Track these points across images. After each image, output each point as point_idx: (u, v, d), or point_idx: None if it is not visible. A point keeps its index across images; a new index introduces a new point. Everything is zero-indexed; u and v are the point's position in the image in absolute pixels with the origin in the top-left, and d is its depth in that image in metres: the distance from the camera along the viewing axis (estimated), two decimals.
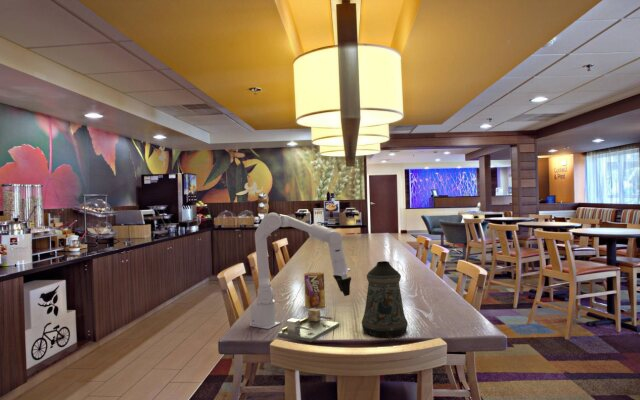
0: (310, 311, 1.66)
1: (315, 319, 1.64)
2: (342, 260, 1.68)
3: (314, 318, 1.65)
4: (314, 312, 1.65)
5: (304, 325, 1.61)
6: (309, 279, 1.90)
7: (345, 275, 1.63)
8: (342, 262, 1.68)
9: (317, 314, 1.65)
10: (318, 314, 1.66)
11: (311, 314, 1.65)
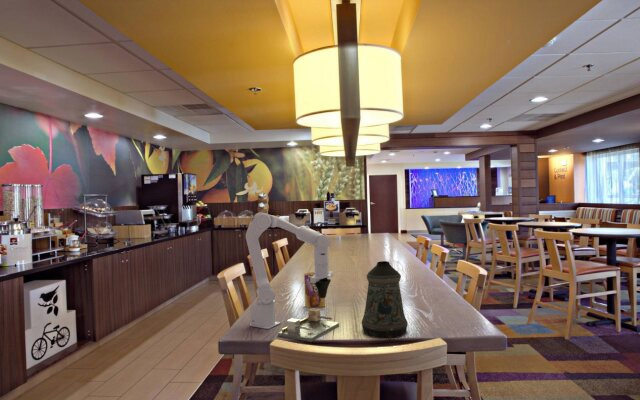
0: (310, 311, 1.66)
1: (315, 319, 1.64)
2: (320, 265, 1.69)
3: (314, 318, 1.65)
4: (314, 312, 1.65)
5: (304, 325, 1.61)
6: (309, 279, 1.90)
7: (313, 279, 1.65)
8: (320, 267, 1.69)
9: (317, 314, 1.65)
10: (318, 314, 1.66)
11: (311, 314, 1.65)
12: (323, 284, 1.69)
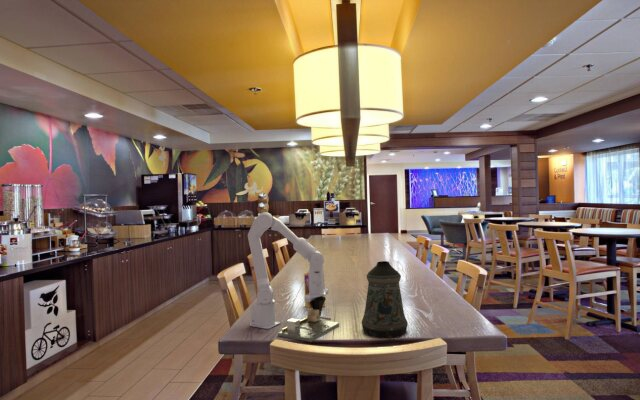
0: (309, 311, 1.65)
1: (314, 319, 1.64)
2: (315, 283, 1.65)
3: (313, 318, 1.64)
4: (313, 312, 1.64)
5: (304, 325, 1.61)
6: None
7: (307, 298, 1.62)
8: (315, 285, 1.65)
9: (316, 314, 1.64)
10: (317, 314, 1.65)
11: (310, 314, 1.65)
12: (318, 303, 1.65)
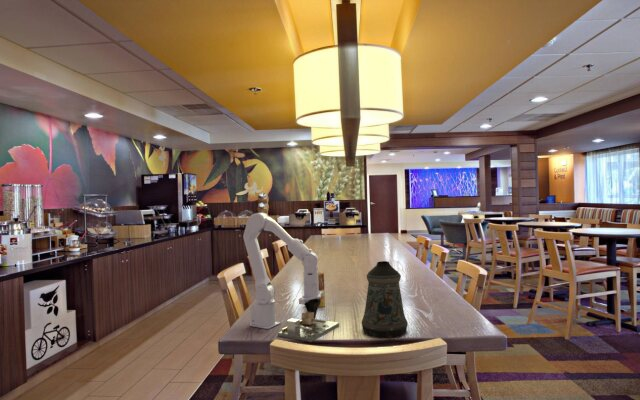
0: (303, 314, 1.62)
1: (309, 322, 1.61)
2: (310, 285, 1.62)
3: (307, 321, 1.61)
4: (307, 315, 1.61)
5: (304, 325, 1.61)
6: None
7: (301, 301, 1.59)
8: (309, 287, 1.62)
9: (311, 317, 1.61)
10: (312, 317, 1.62)
11: (304, 317, 1.61)
12: (312, 305, 1.62)
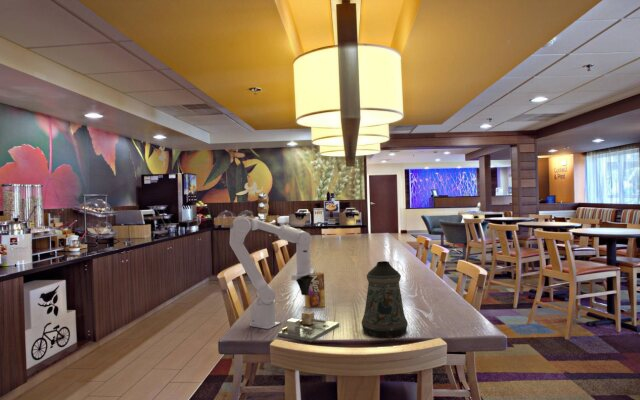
0: (303, 314, 1.62)
1: (309, 322, 1.61)
2: (302, 262, 1.68)
3: (307, 321, 1.61)
4: (307, 315, 1.61)
5: (304, 325, 1.61)
6: None
7: (294, 276, 1.65)
8: (302, 264, 1.68)
9: (311, 317, 1.61)
10: (312, 317, 1.62)
11: (304, 317, 1.61)
12: (305, 281, 1.68)
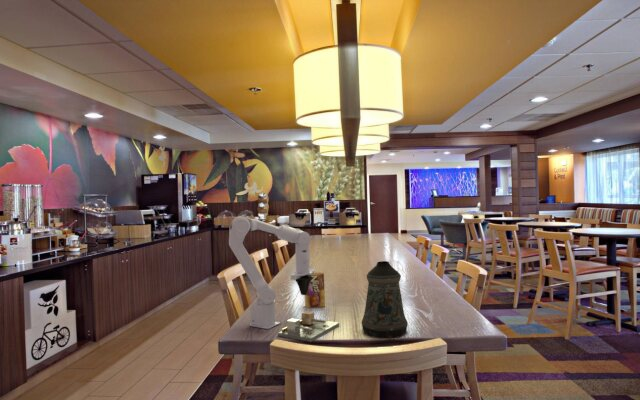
0: (303, 314, 1.62)
1: (309, 322, 1.61)
2: (301, 262, 1.68)
3: (307, 321, 1.61)
4: (307, 315, 1.61)
5: (304, 325, 1.61)
6: None
7: (293, 276, 1.65)
8: (301, 263, 1.68)
9: (311, 317, 1.61)
10: (312, 317, 1.62)
11: (304, 317, 1.61)
12: (304, 281, 1.68)
